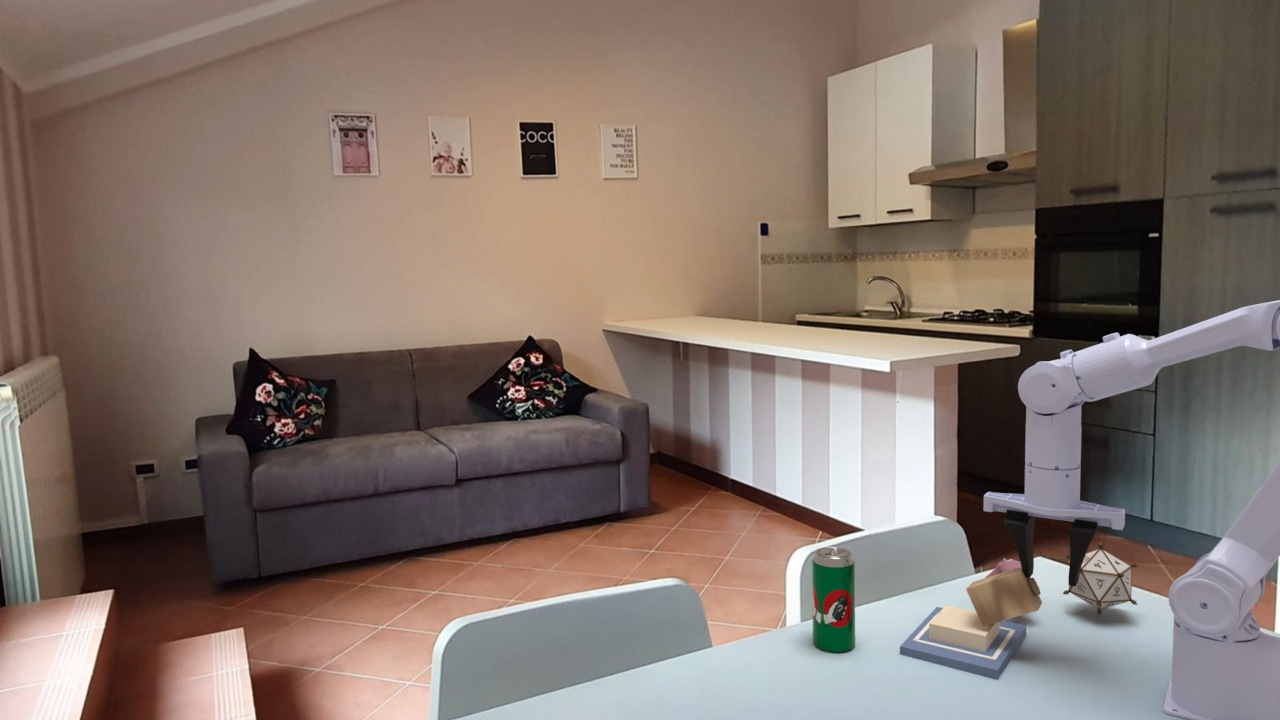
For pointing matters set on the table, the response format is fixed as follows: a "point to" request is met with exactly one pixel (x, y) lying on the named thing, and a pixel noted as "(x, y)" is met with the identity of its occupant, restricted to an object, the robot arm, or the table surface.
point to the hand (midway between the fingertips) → (1050, 579)
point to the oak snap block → (1004, 596)
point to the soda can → (833, 599)
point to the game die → (1103, 580)
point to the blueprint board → (963, 658)
